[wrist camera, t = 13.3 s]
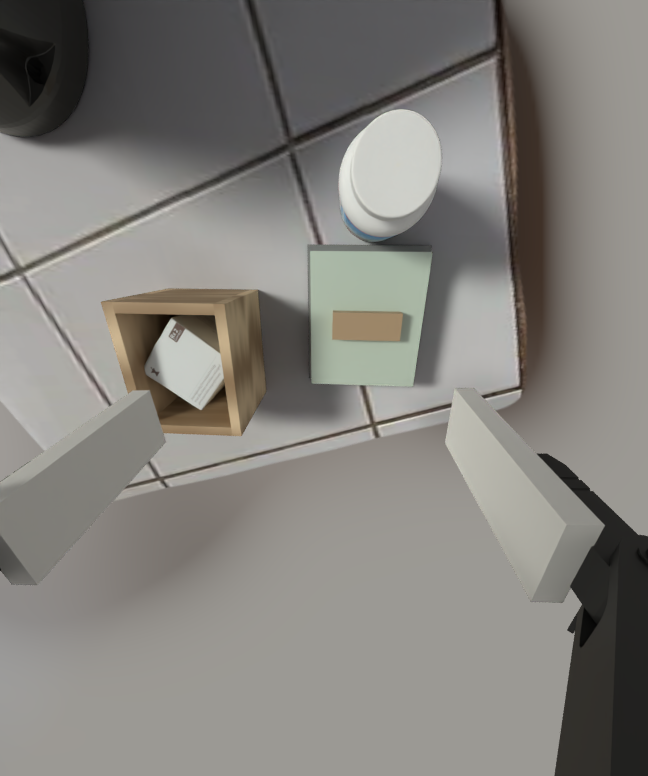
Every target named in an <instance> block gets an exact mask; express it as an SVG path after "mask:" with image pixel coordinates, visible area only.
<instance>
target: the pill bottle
mask: <svg viewBox="0 0 648 776" xmlns="http://www.w3.org/2000/svg"><path fill="white" fill-rule="evenodd" d="M441 167H442V149H441V144H440V140H439V137H438V135H437V133H436V131H435V129H434V128H433V126H432V125H431V123H430V122H429V121H428V120H427V119H426V118H424V117H423V116H422V115H420V114H418V113H417V112H414V111H411V110H405V109H398V110H392V111H389V112H386V113H384V114H382V115H380V116H379V117H377V118H376V119H374V120H373V121H372V122H371V123H370V124H369V125H368V126H367V127H366V128H365V129H364V130H362V131H361V132H360V133H359V134H358V135H357V136H356V137H355V139H354V140H353V141H352V142H351V144H350V145H349V147H348V149H347V151H346V153H345V155H344V158H343V160H342V164H341V167H340V173H339V183H338V186H339V201H340V211H341V216H342V219H343V221H344V224H345V225H346V227H347V229H348V230H349V231H350V232H351V233H352V234H353V235H354V236H356V237H357V238H359V239H361V240H363V241H367V242H379V241H383V240H386V239H388V238H390V237H393V236H395V235H398V234H400V233H402V232H404V231H406V230H408V229H409V228H411V227H412V226H413V225H414V224H415V223H417V222H418V221H419V220H420V219H421V217H422V216H423V215H424V214H425V212H426V211H427V209H428V208H429V206H430V204H431V202H432V200H433V198H434V195H435V192H436V189H437V184H438V180H439V176H440V173H441Z"/></svg>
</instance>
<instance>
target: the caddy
mask: <svg viewBox="0 0 648 776" xmlns="http://www.w3.org/2000/svg"><path fill="white" fill-rule="evenodd" d="M101 304H102V307H103V311H104V314H105V317H106V321H107V324H108V328H109V331H110V334H111V338H112V341H113V344H114V348H115V351H116V354H117V358H118V361H119V364H120V368H121V371H122V374H123V378H124V381H125V384H126V388H127V391H128V394H129V393H130V392H131V391H133V390H150V393H151V396H152V399H153V403H154V406H155V409H156V412H157V415H158V418H159V421H160V424H161V428H162V431H163V433H177V434H202V435H227V436H242V434H243V432H244V431H245V429H246V427H247V425H248V423H249V422H250V420H251V418H252V416H253V414H254V413H255V411H256V409H257V407H258V405H259V404H260V402H261V400H262V398H263V396H264V395H265V393H266V382H265V370H264V358H263V345H262V333H261V321H260V309H259V296H258V290H234V289H164V290H158V291H153V292H148V293H143V294H138V295H133V296H128V297H123V298H117V299H112V300H107V301H102V302H101ZM179 315H215V320H216V327H217V334H218V341H219V348H220V354H221V361H222V368H223V375H224V382H225V386H224V387H223V388H222V389H221V390H220V392H219V393H218V394H217V395H216V396H215V397H214V398H213V399H212V400H211V401H210V402H209V403H208V404H207V405H206V406H205V408H204V409H203V410H199V409H198V408H196V407H195V406H193V405H192V404H190V403H189V402H187V401H186V400H184V399H183V398H181V397H180V396H178V395H177V394H175V393H174V392H172V391H171V390H169V389H167V388H166V387H164V386H163V385H161V384H160V383H158V382H156V381H155V380H153V379H152V378H150V377H148V376H147V375H146V373H145V369H144V366H145V364H146V362H147V360H148V358H149V356H150V354H151V352H152V350H153V348H154V346H155V344H156V342H157V341H158V340H159V338H160V336H161V334H162V333H163V331H164V329H165V327H166V326H167V324H168V322H169V321H170V319H171V318H173V317H176V316H179Z"/></svg>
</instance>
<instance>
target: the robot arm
mask: <svg viewBox="0 0 648 776" xmlns="http://www.w3.org/2000/svg"><path fill="white" fill-rule="evenodd" d="M87 66H88V32H87V23H86V16H85V11H84V6H83V1H82V0H0V132H1V133H5V134H9V135H13V136H23V137H28V136H37V135H41V134H45V133H47V132H49V131H51V130H53V129H55V128H56V127H58V126H59V125H61V124H62V123H63V122H64V121H65V120H66V119H67V118H68V117H69V115H70V114H71V113H72V111H73V110H74V108H75V106H76V105H77V103H78V100H79V98H80V96H81V93H82V90H83V87H84V83H85V79H86V74H87ZM165 443H166V440H165V437H164V434H163V431H162V428H161V424H160V421H159V418H158V415H157V412H156V409H155V406H154V403H153V399H152V396H151V393H150V390H133V391H131V392H130V393H129V394H127V395H126V396H124V397H123V398H121V399H120V400H118V401H117V402H116V403H114V404H113V405H111V406H110V407H108V408H107V409H105V410H104V411H102V412H101V413H100V414H98V415H97V416H95V417H94V418H92V419H91V420H89V421H88V422H86V423H85V424H84V425H82V426H81V427H79V428H78V429H76V430H75V431H73V432H72V433H71V434H69V435H68V436H66V437H65V438H63V439H62V440H60V441H59V442H57V443H56V444H55V445H53V446H52V447H50V448H49V449H47V450H46V451H44V452H43V453H42V454H40V455H39V456H37V457H36V458H34V459H33V460H31V461H29V462H28V463H26V464H25V465H24V466H22V467H21V468H19V469H18V470H17V471H15V472H13V474H11V475H9V476H8V477H6V478H5V479H3V480H2V481H0V571H1V572H2V573H3V574H4V575H5V577H6V578H7V579H8V580H9V582H10V583H11V584H13V585H15V584H16V585H39V583H40V582H41V581H42V580H43V579H44V578H45V577H46V576H47V574H48V573H49V572H50V571H51V570H52V569H53V568H54V567H55V566H56V564H57V563H58V562H59V561H60V560H61V559H62V558H63V557H64V555H65V554H66V553H67V552H68V551H69V550H70V549H71V548H72V547H73V545H74V544H75V543H76V542H77V541H78V540H79V539H80V538H81V536H82V535H83V534H84V533H85V532H86V531H87V530H88V529H89V528H90V526H91V525H92V524H93V523H94V522H95V521H96V519H98V517H99V516H100V515H101V514H102V513H103V512H104V511H105V510H106V508H107V507H108V506H109V505H110V504H111V503H112V502H113V501H114V500H115V498H116V497H117V496H118V495H119V494H120V493H121V492H122V491H123V490H124V488H125V487H126V486H127V485H128V484H129V483H130V482H131V481H132V479H133V478H134V477H135V476H136V475H137V474H138V473H139V472H140V471H141V469H142V468H143V467H144V466H145V465H146V464H147V463H148V462H149V460H150V459H151V458H152V457H153V456H154V455H155V454H156V453H157V452H158V450H159V449H160V448H161V447H162V446H163V445H164V444H165ZM445 444H446V446H447V447H448V449H449V451H450V453H451V455H452V457H453V458H454V460H455V462H456V464H457V466H458V468H459V470H460V472H461V473H462V475H463V477H464V479H465V481H466V483H467V485H468V486H469V488H470V490H471V492H472V494H473V496H474V497H475V499H476V501H477V503H478V505H479V507H480V508H481V510H482V512H483V514H484V516H485V518H486V520H487V522H488V523H489V525H490V527H491V529H492V530H493V533H494V535H495V536H496V538H497V540H498V542H499V544H500V545H501V548H502V549H503V551H504V553H505V555H506V557H507V559H508V560H509V562H510V564H511V566H512V568H513V570H514V572H515V573H516V575H517V577H518V579H519V581H520V582H521V584H522V586H523V588H524V590H525V592H526V594H527V596H528V598H529V599H530V601H531V602H552V603H563V601H564V599H565V598H566V596H567V594H568V592H569V590H570V589H571V588H572V590H573V591H574V593H575V594H576V595H577V597H578V599H579V600H580V602H581V603H582V606H581V607H580V609H579V611H578V612H577V614H576V616H575V617H574V619H573V621H572V622H571V624H570V626H569V628H568V631H569V632H571V633H574V631H575V635H574V642H573V650H572V656H571V663H570V670H569V678H568V685H567V692H566V699H565V707H564V713H563V720H562V728H561V734H560V741H559V748H558V755H557V762H556V769H555V776H648V536H644V535H638V534H637V533H636V532H634V531H633V529H631V528H630V527H629V526H628V525H627V524H626V523H625V522H624V521H623V520H622V519H621V518H620V517H619V516H618V515H617V514H616V513H615V512H614V511H613V510H612V509H611V508H610V507H609V506H607V505H606V503H604V502H603V501H602V500H601V499H600V498H599V497H598V496H597V495H596V494H595V493H594V492H593V491H590V488H589V487H588V486H587V485H586V484H585V483H583V481H582V480H579V479H578V477H577V476H576V475H575V474H574V473H573V472H572V471H571V470H570V469H569V468H568V467H567V466H566V465H565V464H563V463H562V462H560V461H558V460H557V459H555V458H553V457H552V456H550V455H548V454H536V453H535V452H534V451H533V450H532V449H531V448H530V447H529V445H527V443H526V442H525V441H524V440H523V439H522V438H521V437H520V436H519V435H518V434H517V433H516V432H515V431H514V430H513V429H512V428H511V427H510V426H509V425H508V424H507V422H506V421H505V420H504V419H503V418H502V417H501V416H500V415H499V414H498V413H497V412H496V411H495V410H494V409H493V408H492V407H491V406H490V405H489V404H488V403H487V401H486V400H485V399H484V398H483V397H482V396H481V395H480V394H479V393H478V392H477V391H476V390H475V389H474V388H455V390H454V396H453V401H452V407H451V412H450V418H449V424H448V429H447V435H446V440H445Z"/></svg>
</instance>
